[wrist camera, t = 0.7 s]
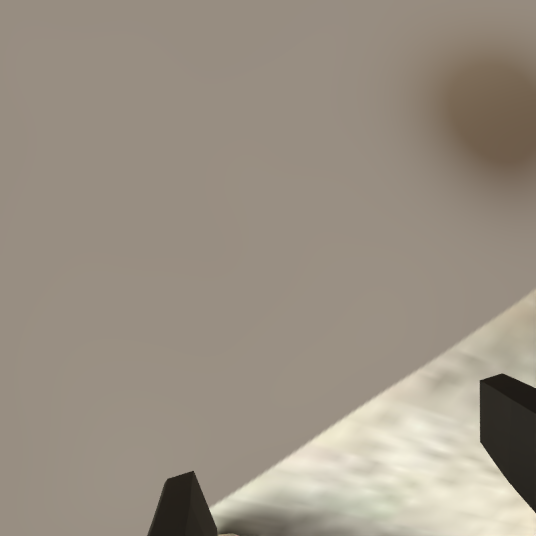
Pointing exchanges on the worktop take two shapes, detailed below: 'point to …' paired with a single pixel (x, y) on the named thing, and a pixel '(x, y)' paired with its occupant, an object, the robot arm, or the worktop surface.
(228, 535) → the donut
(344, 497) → the worktop surface
